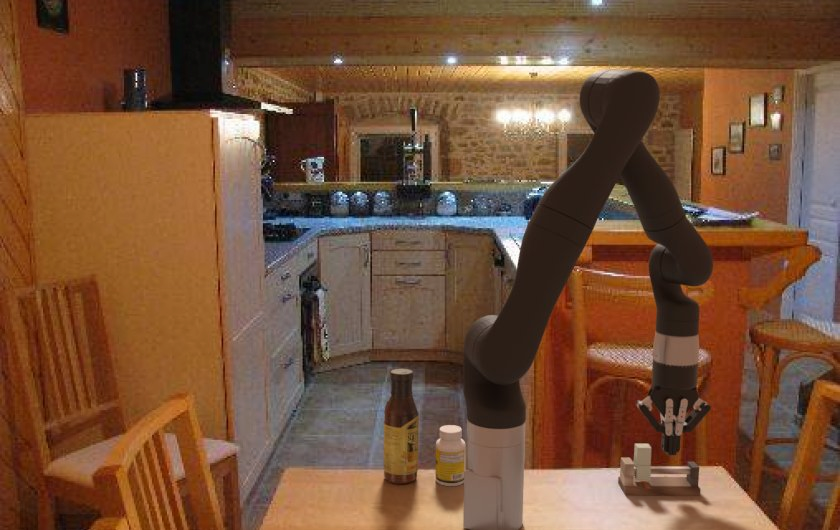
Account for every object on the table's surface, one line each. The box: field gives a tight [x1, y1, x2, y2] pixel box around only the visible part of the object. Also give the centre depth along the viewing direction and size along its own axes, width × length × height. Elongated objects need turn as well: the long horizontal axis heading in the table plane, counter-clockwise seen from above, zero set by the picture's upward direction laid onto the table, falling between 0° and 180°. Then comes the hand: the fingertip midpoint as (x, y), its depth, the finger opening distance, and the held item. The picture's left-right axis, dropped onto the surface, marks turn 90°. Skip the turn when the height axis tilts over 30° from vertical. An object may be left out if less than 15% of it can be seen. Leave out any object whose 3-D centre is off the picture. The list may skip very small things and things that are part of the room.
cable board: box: [617, 457, 701, 496], centre depth 144 cm, size 13×5×5 cm, turn 90°
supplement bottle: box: [435, 424, 466, 487], centre depth 146 cm, size 5×5×10 cm
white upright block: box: [632, 443, 652, 480], centre depth 143 cm, size 2×3×6 cm
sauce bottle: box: [383, 368, 420, 485], centre depth 146 cm, size 6×6×20 cm
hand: (670, 453), depth 143 cm, fingers closed
